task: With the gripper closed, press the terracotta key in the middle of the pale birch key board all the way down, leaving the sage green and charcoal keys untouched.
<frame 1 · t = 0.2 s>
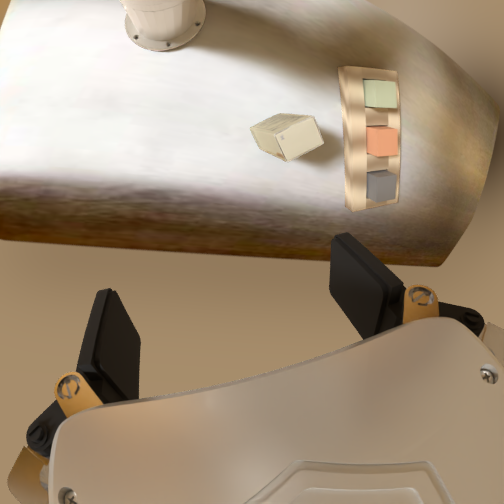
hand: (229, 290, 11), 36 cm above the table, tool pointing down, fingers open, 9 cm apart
skincare box: (270, 130, 43), on the table
key board: (368, 136, 47), on the table
terracotta key: (381, 140, 44), point 4 cm above the table, slide at 0.0 cm
charcoal key: (380, 185, 49), point 4 cm above the table, slide at 0.0 cm
sage key: (379, 93, 39), point 4 cm above the table, slide at 0.0 cm
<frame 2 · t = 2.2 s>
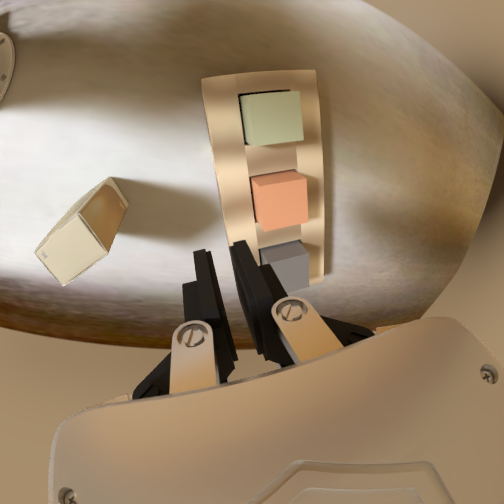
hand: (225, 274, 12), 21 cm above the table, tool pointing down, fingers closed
skincare box: (102, 202, 29), on the table
key board: (268, 188, 33), on the table
terracotta key: (279, 199, 30), point 4 cm above the table, slide at 0.0 cm
charcoal key: (284, 267, 35), point 4 cm above the table, slide at 0.0 cm
sage key: (270, 116, 25), point 4 cm above the table, slide at 0.0 cm
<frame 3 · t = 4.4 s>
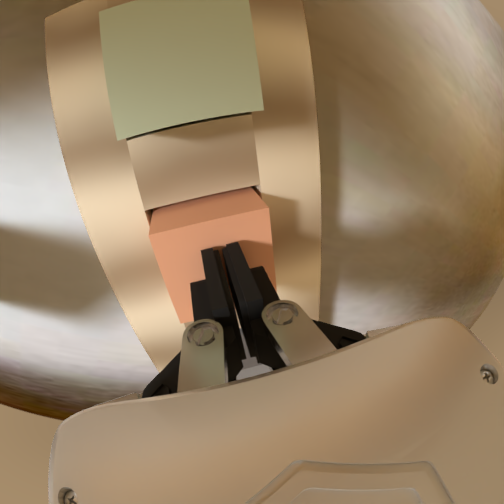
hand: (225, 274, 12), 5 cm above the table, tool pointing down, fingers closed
key board: (206, 224, 17), on the table
terracotta key: (214, 250, 14), point 3 cm above the table, slide at 0.8 cm, touching gripper
charcoal key: (243, 367, 18), point 4 cm above the table, slide at 0.0 cm
sage key: (179, 61, 8), point 4 cm above the table, slide at 0.0 cm
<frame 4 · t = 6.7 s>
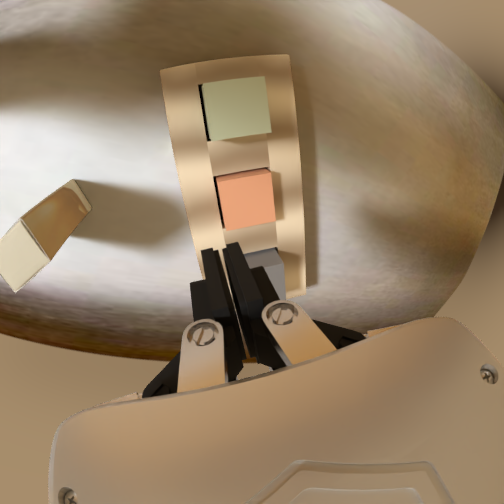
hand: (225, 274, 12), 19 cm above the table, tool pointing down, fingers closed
skincare box: (66, 206, 26), on the table
key board: (240, 189, 30), on the table
terracotta key: (244, 196, 28), point 2 cm above the table, slide at 1.7 cm
charcoal key: (258, 278, 31), point 4 cm above the table, slide at 0.0 cm
sage key: (234, 107, 22), point 4 cm above the table, slide at 0.0 cm
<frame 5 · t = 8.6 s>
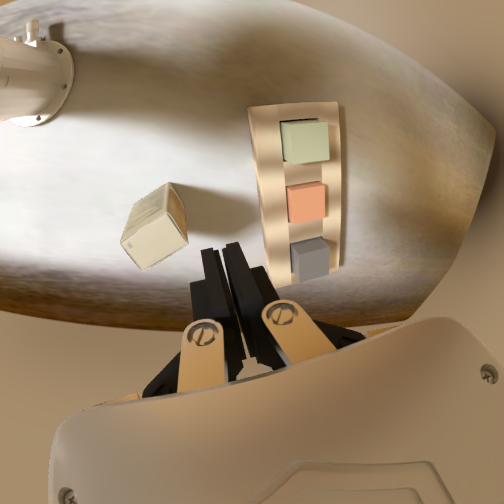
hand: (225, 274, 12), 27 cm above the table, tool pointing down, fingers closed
skincare box: (159, 203, 37), on the table
key board: (297, 195, 41), on the table
terracotta key: (303, 200, 39), point 2 cm above the table, slide at 1.7 cm
charcoal key: (309, 258, 43), point 4 cm above the table, slide at 0.0 cm
sage key: (304, 140, 33), point 4 cm above the table, slide at 0.0 cm
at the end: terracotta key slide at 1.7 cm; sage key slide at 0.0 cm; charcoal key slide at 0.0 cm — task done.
